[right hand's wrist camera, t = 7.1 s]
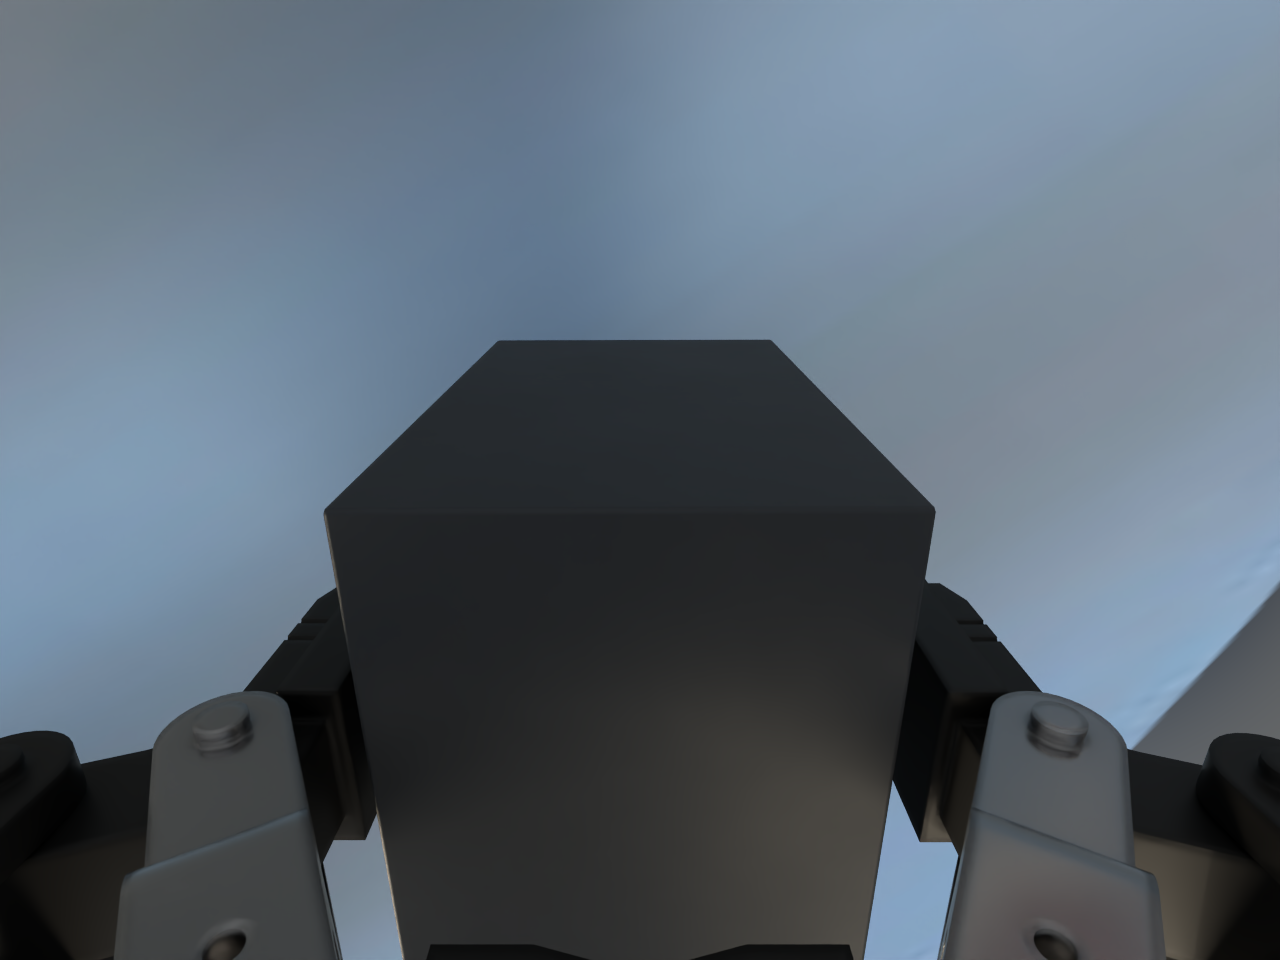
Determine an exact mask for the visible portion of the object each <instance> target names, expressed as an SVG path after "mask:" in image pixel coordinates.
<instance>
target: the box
mask: <svg viewBox="0 0 1280 960" xmlns="http://www.w3.org/2000/svg"><path fill="white" fill-rule="evenodd" d="M935 512H936V511H935V508H934V506H933V505H932V504H931V503H930V502H929V501H928V500H927V499H926V498H925V497H924V496H923V495H922V494H921V493H920V492H919V491H918V490H917V489H916V488H915V487H914V486H913V485H912V484H911V483H910V482H909V481H908V480H907V479H906V478H905V477H904V476H903V475H902V474H901V473H900V472H899V471H898V470H897V469H896V468H895V467H894V466H893V464H892V463H891V462H890V461H889V460H888V459H887V458H886V457H885V456H884V455H883V454H882V453H881V452H880V451H879V450H878V449H877V448H876V447H875V446H874V445H873V444H872V443H871V442H870V441H869V440H868V439H867V438H866V437H865V436H864V435H863V434H862V433H861V432H860V431H859V430H858V429H857V428H856V427H855V426H854V425H853V424H852V423H851V421H850V420H849V419H848V418H847V417H846V416H845V415H844V414H843V413H842V412H841V411H840V410H839V409H838V408H837V407H836V406H835V405H834V404H833V403H832V402H831V401H830V400H829V399H828V398H827V397H826V396H825V395H824V394H823V393H822V392H821V391H820V390H819V389H818V388H817V387H816V386H815V385H814V384H813V383H812V382H811V381H810V380H809V379H808V377H807V376H806V375H805V374H804V373H803V372H802V371H801V370H800V369H799V368H798V367H797V366H796V365H795V364H794V363H793V362H792V361H791V360H790V359H789V358H788V357H787V356H786V355H785V354H784V353H783V352H782V351H781V350H780V349H779V348H778V347H777V346H776V345H775V344H774V343H773V342H772V341H771V340H521V341H497V342H496V343H495V344H494V345H493V346H492V347H491V348H490V349H489V350H488V351H487V352H486V353H485V354H484V355H483V356H482V357H481V358H480V359H479V360H478V361H477V362H476V363H475V364H474V365H473V366H472V367H471V368H470V369H469V370H468V371H467V372H466V373H465V374H464V375H462V376H461V377H460V378H459V379H458V380H457V381H456V382H455V383H454V384H453V385H452V386H451V387H450V388H449V389H448V390H447V391H446V392H445V393H444V394H443V395H442V396H441V397H440V398H439V399H438V400H437V401H436V402H435V403H434V404H433V405H432V406H431V407H430V408H428V409H427V410H426V411H425V412H424V413H423V414H422V415H421V416H420V417H419V418H418V419H417V420H416V421H415V422H414V423H413V424H412V425H411V426H410V427H409V428H408V429H407V430H406V431H405V432H404V433H403V434H402V435H401V436H400V437H399V438H398V439H397V440H396V441H395V442H393V443H392V444H391V445H390V446H389V447H388V448H387V449H386V450H385V451H384V452H383V453H382V454H381V455H380V456H379V457H378V458H377V459H376V460H375V461H374V462H373V463H372V464H371V465H370V466H369V467H368V468H367V469H366V470H365V471H364V472H363V473H362V474H361V475H360V476H358V477H357V478H356V479H355V480H354V481H353V482H352V483H351V484H350V485H349V486H348V487H347V488H346V489H345V490H344V491H343V492H342V493H341V494H340V495H339V496H338V497H337V498H336V499H335V500H334V501H333V502H332V503H331V504H330V505H329V506H328V507H327V508H326V509H325V511H324V520H325V525H326V531H327V537H328V542H329V548H330V553H331V559H332V565H333V570H334V576H335V582H336V587H337V593H338V598H339V604H340V610H341V615H342V621H343V626H344V632H345V638H346V643H347V649H348V654H349V660H350V666H351V671H352V677H353V683H354V688H355V694H356V699H357V705H358V711H359V716H360V722H361V727H362V733H363V739H364V744H365V750H366V755H367V761H368V767H369V772H370V778H371V784H372V789H373V795H374V800H375V806H376V812H377V817H378V823H379V828H380V834H381V840H382V845H383V851H384V856H385V862H386V868H387V873H388V879H389V884H390V890H391V896H392V901H393V907H394V913H395V918H396V924H397V929H398V935H399V941H400V946H401V952H402V957H403V960H426V959H427V955H428V952H429V948H430V945H431V944H534V945H538V946H542V947H545V948H549V949H553V950H556V951H560V952H564V953H568V954H571V955H575V956H579V957H582V958H586V959H590V960H690V959H694V958H698V957H701V956H705V955H709V954H712V953H716V952H720V951H724V950H727V949H731V948H735V947H738V946H742V945H746V944H849V945H850V948H851V952H852V955H853V959H854V960H864V954H865V948H866V941H867V935H868V929H869V923H870V917H871V910H872V904H873V898H874V892H875V886H876V879H877V873H878V867H879V861H880V854H881V848H882V842H883V836H884V830H885V823H886V817H887V811H888V805H889V799H890V792H891V786H892V780H893V774H894V768H895V761H896V755H897V749H898V743H899V737H900V730H901V724H902V718H903V712H904V706H905V699H906V693H907V687H908V681H909V674H910V668H911V662H912V656H913V650H914V643H915V637H916V631H917V625H918V619H919V612H920V606H921V600H922V594H923V588H924V581H925V575H926V569H927V563H928V557H929V550H930V544H931V538H932V532H933V525H934V519H935Z"/></svg>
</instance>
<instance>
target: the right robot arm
mask: <svg viewBox="0 0 1280 960" xmlns="http://www.w3.org/2000/svg"><path fill="white" fill-rule="evenodd" d="M301 620H302V621H301V623H298V624H297V625H296V627H295V628H294V629H293V630H292V632H291V633H290V634H289V635H288V640H284V641H283V643H282V644H281V645H280V646H279V648H278V649H277V650H276V651H275V653H274V654H273V655H272V656H271V657H270V659H269V660H268V661H267V662H266V664H265V665H264V666H263V667H262V669H261V670H260V671H259V672H258V674H257V675H256V676H255V677H254V678H253V680H252V681H251V682H250V683H249V685H248V686H247V687H246V688H245V690H244V691H243V692H237V693H231V694H227V695H223V696H220V697H217V698H214V699H211V700H208V701H206V702H203V703H201V704H199V705H197V706H195V707H193V708H191V709H189V710H188V711H186V712H184V713H183V714H181V715H180V716H178V717H177V718H176V719H175V720H173V721H172V722H171V723H170V724H169V725H168V726H167V727H166V728H165V729H164V730H163V731H162V732H161V733H160V735H159V736H158V737H157V739H156V741H155V743H154V747H153V749H149V750H145V751H140V752H136V753H131V754H126V755H122V756H117V757H112V758H107V759H103V760H98V761H93V762H88V763H84V764H80V761H79V759H78V756H77V753H76V750H75V748H74V745H73V742H72V741H71V740H70V738H69V737H67V736H66V735H64V734H62V733H58V732H54V731H32V732H24V733H19V734H14V735H10V736H6V737H3V738H0V960H343V958H342V953H341V948H340V943H339V938H338V933H337V928H336V923H335V918H334V913H333V908H332V903H331V898H330V893H329V888H328V883H327V878H326V873H325V869H324V864H323V861H324V859H325V857H326V855H327V852H328V850H329V848H330V846H331V844H332V842H333V840H366V837H367V835H368V833H369V830H370V828H371V826H372V823H373V821H374V819H375V816H376V814H377V812H376V806H375V800H374V795H373V789H372V784H371V778H370V772H369V767H368V761H367V755H366V750H365V744H364V739H363V733H362V727H361V722H360V716H359V711H358V705H357V699H356V694H355V688H354V683H353V677H352V671H351V666H350V660H349V654H348V649H347V643H346V638H345V632H344V626H343V621H342V615H341V610H340V604H339V598H338V593H337V587H336V588H335V589H333V590H332V591H330V592H328V593H327V594H325V595H324V596H322V597H321V598H319V599H317V601H316V602H315V603H314V604H313V606H312V607H311V608H310V609H309V611H308V612H307V613H306V614H305V615H304V617H303V618H302V619H301ZM893 782H894V784H895V786H896V789H897V791H898V793H899V795H900V798H901V800H902V802H903V805H904V807H905V809H906V811H907V814H908V816H909V818H910V821H911V823H912V825H913V827H914V830H915V832H916V834H917V837H918V839H919V841H920V842H952V843H953V845H954V847H955V849H956V851H957V853H958V860H957V864H956V869H955V873H954V878H953V883H952V888H951V893H950V898H949V903H948V908H947V913H946V918H945V923H944V928H943V933H942V938H941V943H940V948H939V953H938V958H937V960H1280V740H1279V739H1275V738H1272V737H1267V736H1262V735H1257V734H1249V733H1232V734H1226V735H1222V736H1219V737H1218V738H1216V739H1214V740H1213V742H1212V743H1211V744H1210V747H1209V749H1208V752H1207V755H1206V758H1205V760H1204V763H1203V765H1198V764H1193V763H1189V762H1184V761H1179V760H1174V759H1170V758H1165V757H1160V756H1156V755H1151V754H1146V753H1141V752H1137V751H1133V750H1129V749H1127V747H1126V743H1125V741H1124V739H1123V737H1122V736H1121V735H1120V733H1119V732H1118V731H1117V730H1116V729H1115V728H1114V727H1113V726H1112V725H1111V724H1110V723H1109V722H1108V721H1107V720H1105V719H1104V718H1103V717H1102V716H1100V715H1099V714H1097V713H1096V712H1094V711H1092V710H1091V709H1089V708H1087V707H1085V706H1083V705H1081V704H1079V703H1077V702H1074V701H1072V700H1069V699H1066V698H1063V697H1060V696H1057V695H1053V694H1049V693H1043V692H1041V690H1040V689H1039V688H1038V687H1037V685H1036V684H1035V683H1034V682H1033V681H1032V679H1031V678H1030V677H1029V676H1028V674H1027V673H1026V672H1025V671H1024V670H1023V668H1022V667H1021V666H1020V665H1019V664H1018V662H1017V661H1016V660H1015V659H1014V657H1013V656H1012V655H1011V654H1010V653H1009V651H1008V650H1007V649H1006V648H1005V646H1004V645H1003V644H1002V643H1001V642H997V637H996V635H995V634H994V633H993V632H992V631H991V629H990V628H989V627H988V626H987V625H984V624H983V620H982V618H981V617H980V616H979V615H978V613H977V612H976V611H975V610H974V609H973V607H972V606H971V605H970V604H969V602H968V601H967V600H965V599H964V598H962V597H961V596H959V595H957V594H956V593H954V592H953V591H951V590H949V589H948V588H946V587H945V586H943V585H942V584H940V583H928V582H927V581H926V580H925V581H924V588H923V594H922V600H921V606H920V612H919V619H918V625H917V631H916V637H915V643H914V650H913V656H912V662H911V668H910V674H909V681H908V687H907V693H906V699H905V706H904V712H903V718H902V724H901V730H900V737H899V743H898V749H897V755H896V761H895V768H894V774H893ZM426 960H590V959H586V958H582V957H579V956H575V955H571V954H568V953H564V952H560V951H556V950H553V949H549V948H545V947H542V946H538V945H534V944H431V945H430V948H429V952H428V955H427V959H426ZM690 960H854V959H853V955H852V952H851V948H850V945H849V944H746V945H742V946H738V947H735V948H731V949H727V950H724V951H720V952H716V953H712V954H709V955H705V956H701V957H698V958H694V959H690Z"/></svg>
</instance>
